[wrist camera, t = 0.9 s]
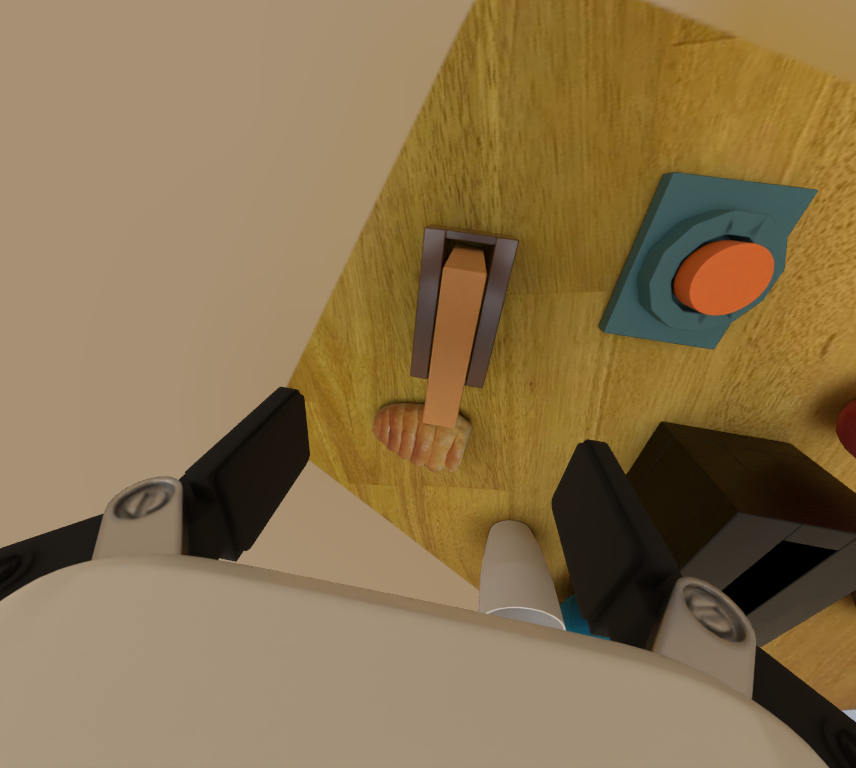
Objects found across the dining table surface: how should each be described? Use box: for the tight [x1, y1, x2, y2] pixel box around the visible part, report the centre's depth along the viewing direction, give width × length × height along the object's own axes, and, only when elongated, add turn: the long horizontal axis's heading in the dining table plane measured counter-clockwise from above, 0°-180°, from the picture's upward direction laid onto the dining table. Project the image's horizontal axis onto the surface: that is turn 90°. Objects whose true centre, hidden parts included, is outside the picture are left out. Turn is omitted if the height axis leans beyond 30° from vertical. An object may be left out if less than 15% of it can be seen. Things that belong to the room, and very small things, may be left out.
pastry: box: [372, 403, 471, 472], centre depth 30 cm, size 9×7×4 cm
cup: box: [479, 520, 566, 630], centre depth 34 cm, size 8×8×10 cm
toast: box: [423, 244, 487, 428], centre depth 20 cm, size 9×2×10 cm, turn 173°
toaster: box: [626, 422, 856, 647], centre depth 27 cm, size 15×11×10 cm
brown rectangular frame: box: [410, 225, 519, 388], centre depth 23 cm, size 11×6×3 cm, turn 173°
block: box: [599, 172, 818, 349], centre depth 20 cm, size 10×8×3 cm
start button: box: [674, 240, 774, 315], centre depth 18 cm, size 4×4×2 cm
